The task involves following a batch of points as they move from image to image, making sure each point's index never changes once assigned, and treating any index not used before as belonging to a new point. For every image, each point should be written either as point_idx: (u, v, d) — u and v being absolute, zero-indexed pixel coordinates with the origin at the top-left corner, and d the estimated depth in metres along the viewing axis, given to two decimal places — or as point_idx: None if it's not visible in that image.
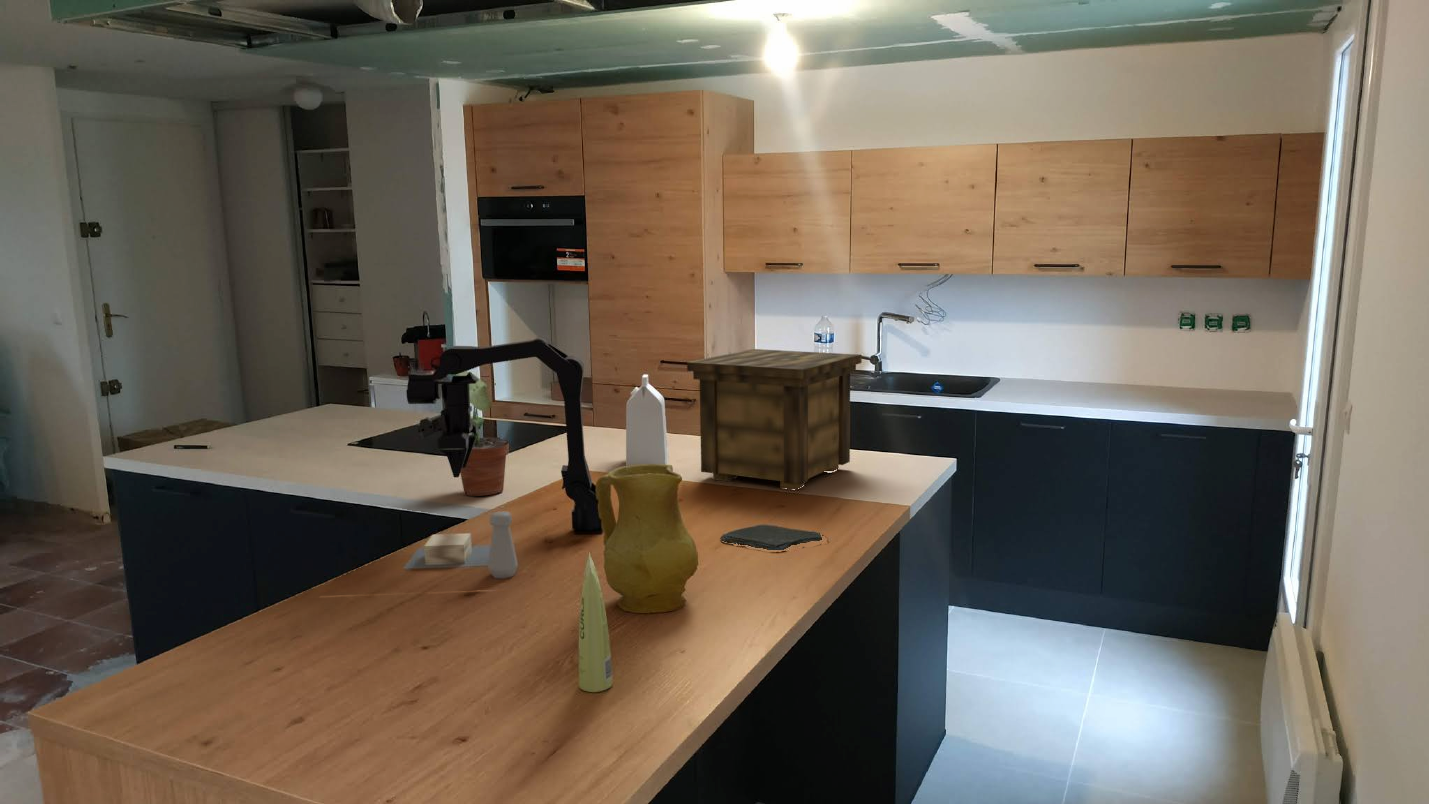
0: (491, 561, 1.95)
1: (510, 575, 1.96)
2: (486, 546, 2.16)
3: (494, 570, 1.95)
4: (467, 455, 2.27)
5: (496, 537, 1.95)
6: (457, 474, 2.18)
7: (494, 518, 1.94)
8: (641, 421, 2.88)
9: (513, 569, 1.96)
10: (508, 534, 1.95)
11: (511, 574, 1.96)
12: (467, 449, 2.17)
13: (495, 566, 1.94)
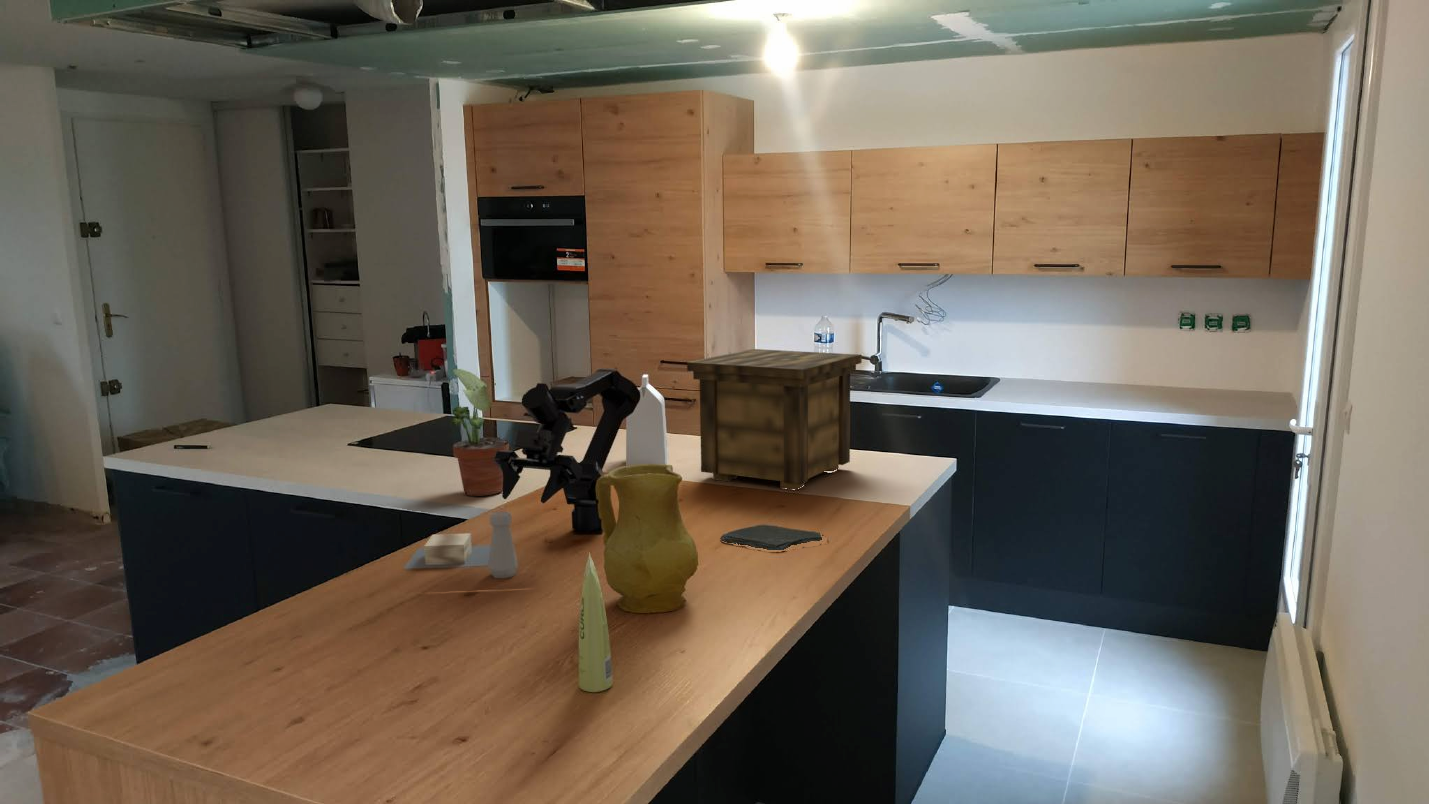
0: (491, 561, 1.95)
1: (510, 575, 1.96)
2: (486, 546, 2.16)
3: (494, 570, 1.95)
4: (511, 489, 2.07)
5: (496, 537, 1.95)
6: (545, 500, 2.01)
7: (494, 518, 1.94)
8: (641, 421, 2.88)
9: (513, 569, 1.96)
10: (508, 534, 1.95)
11: (511, 574, 1.96)
12: None
13: (495, 566, 1.94)
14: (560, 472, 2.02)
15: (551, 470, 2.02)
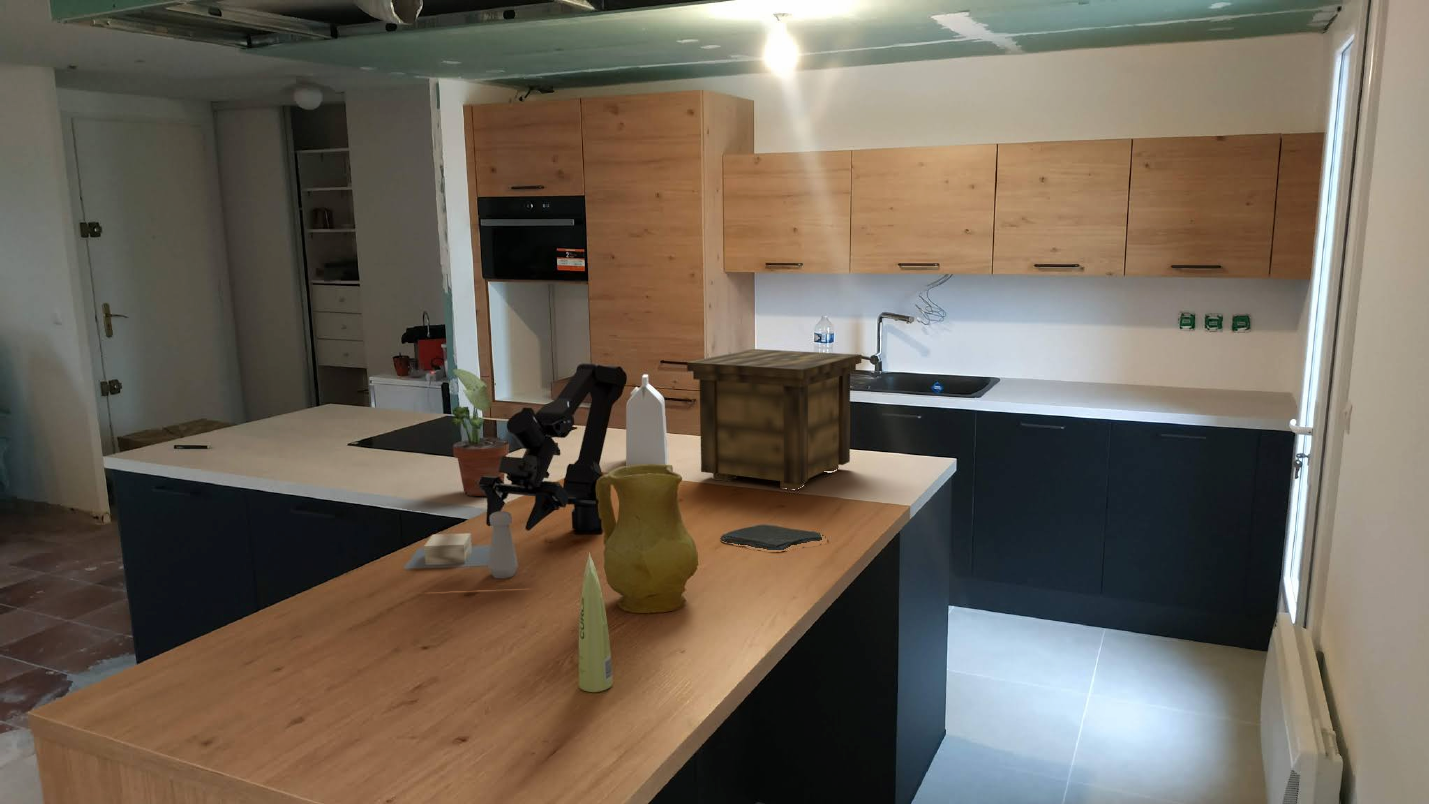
0: (491, 561, 1.95)
1: (510, 575, 1.96)
2: (486, 546, 2.16)
3: (494, 570, 1.95)
4: None
5: (496, 537, 1.95)
6: (530, 527, 1.97)
7: (494, 518, 1.94)
8: (641, 421, 2.88)
9: (513, 569, 1.96)
10: (508, 534, 1.95)
11: (511, 574, 1.96)
12: None
13: (495, 566, 1.94)
14: (545, 499, 1.98)
15: (536, 497, 1.97)
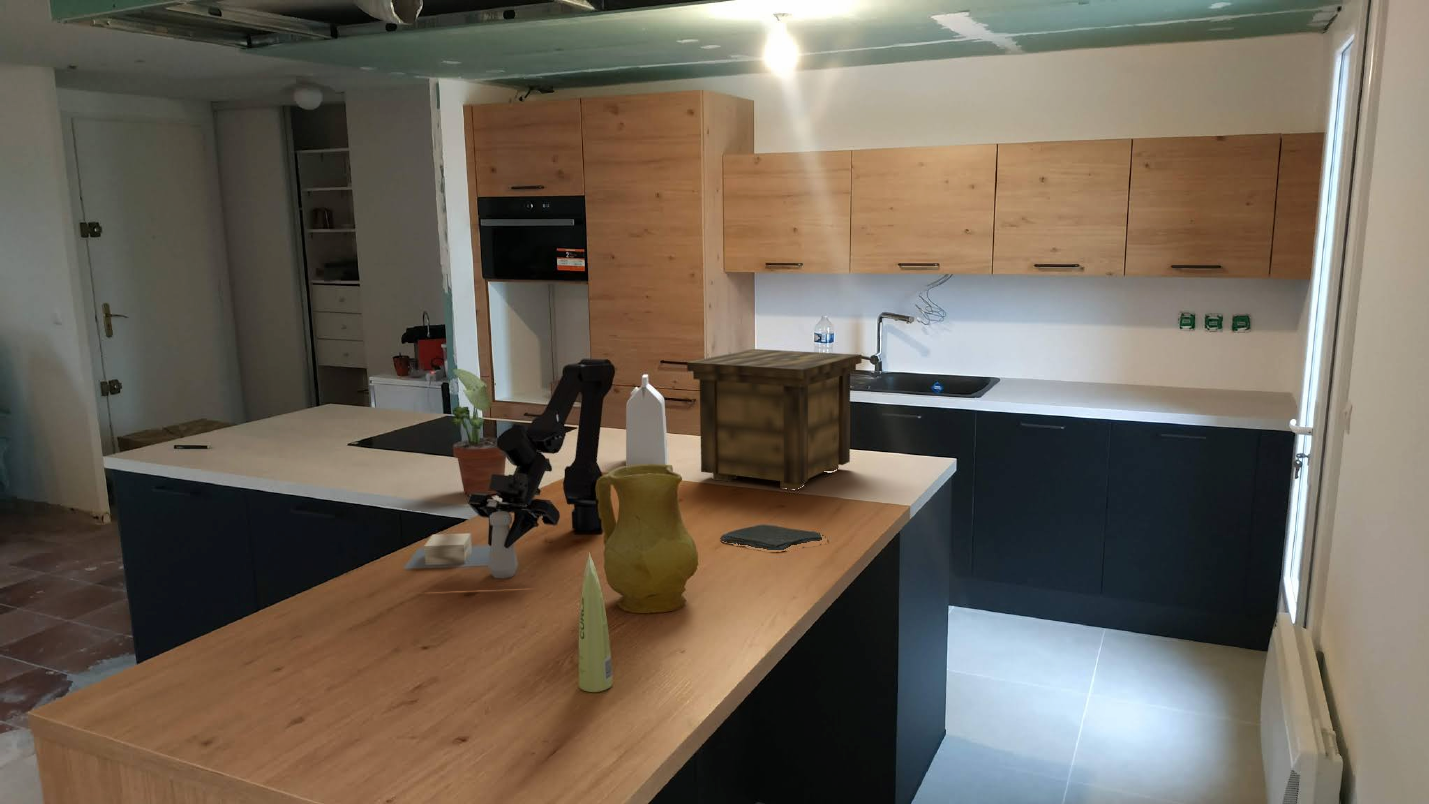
0: (491, 561, 1.95)
1: (510, 575, 1.96)
2: (486, 546, 2.16)
3: (494, 570, 1.95)
4: None
5: (496, 537, 1.95)
6: (509, 545, 1.95)
7: (494, 518, 1.94)
8: (641, 421, 2.88)
9: (513, 569, 1.96)
10: None
11: (511, 574, 1.96)
12: None
13: (495, 566, 1.94)
14: (524, 516, 1.96)
15: (515, 514, 1.96)
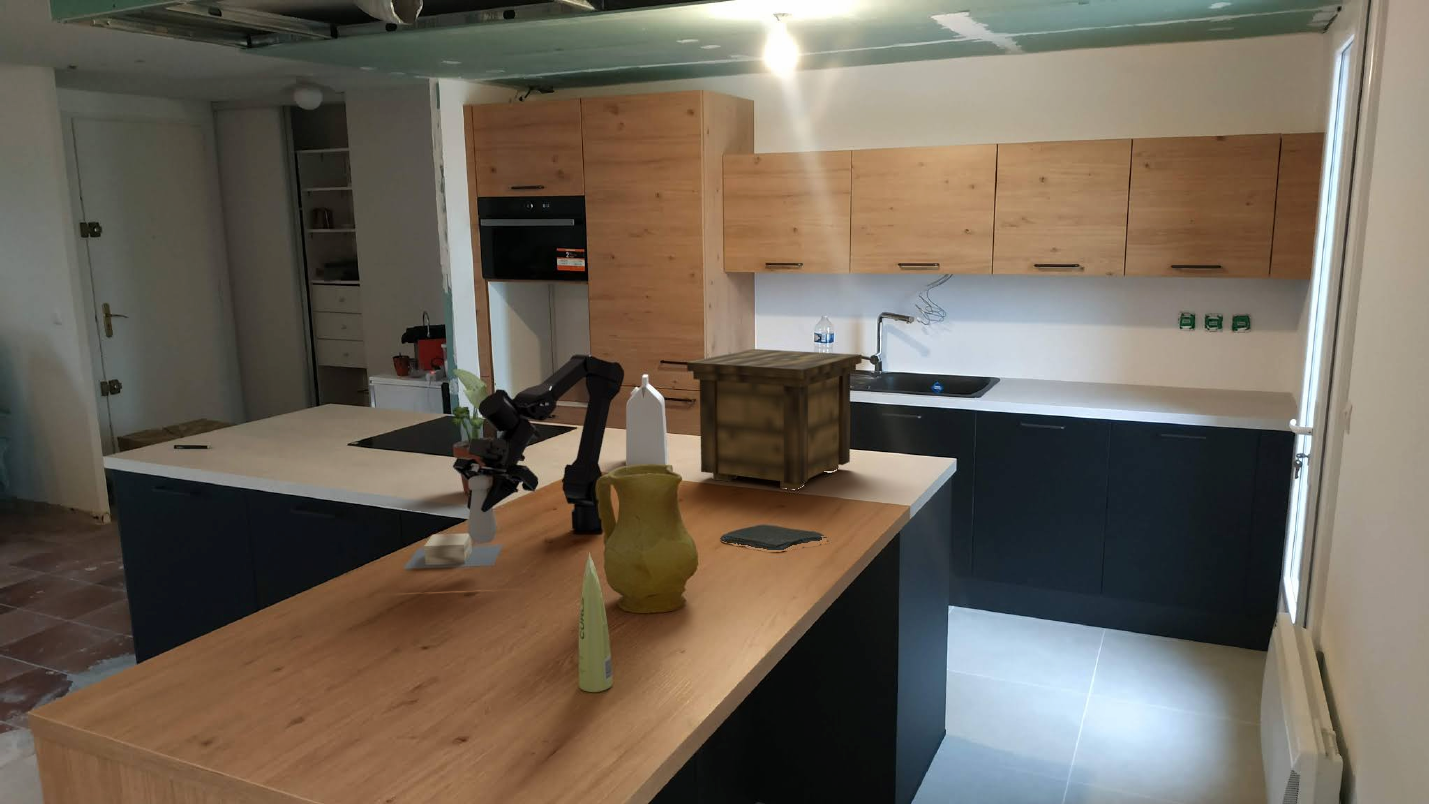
0: (469, 525, 1.96)
1: (488, 539, 1.97)
2: (486, 546, 2.16)
3: (471, 534, 1.96)
4: None
5: (474, 501, 1.96)
6: (486, 509, 1.96)
7: (472, 482, 1.95)
8: (641, 421, 2.88)
9: (491, 533, 1.97)
10: None
11: (489, 538, 1.97)
12: None
13: (473, 529, 1.96)
14: (502, 481, 1.96)
15: (493, 478, 1.96)
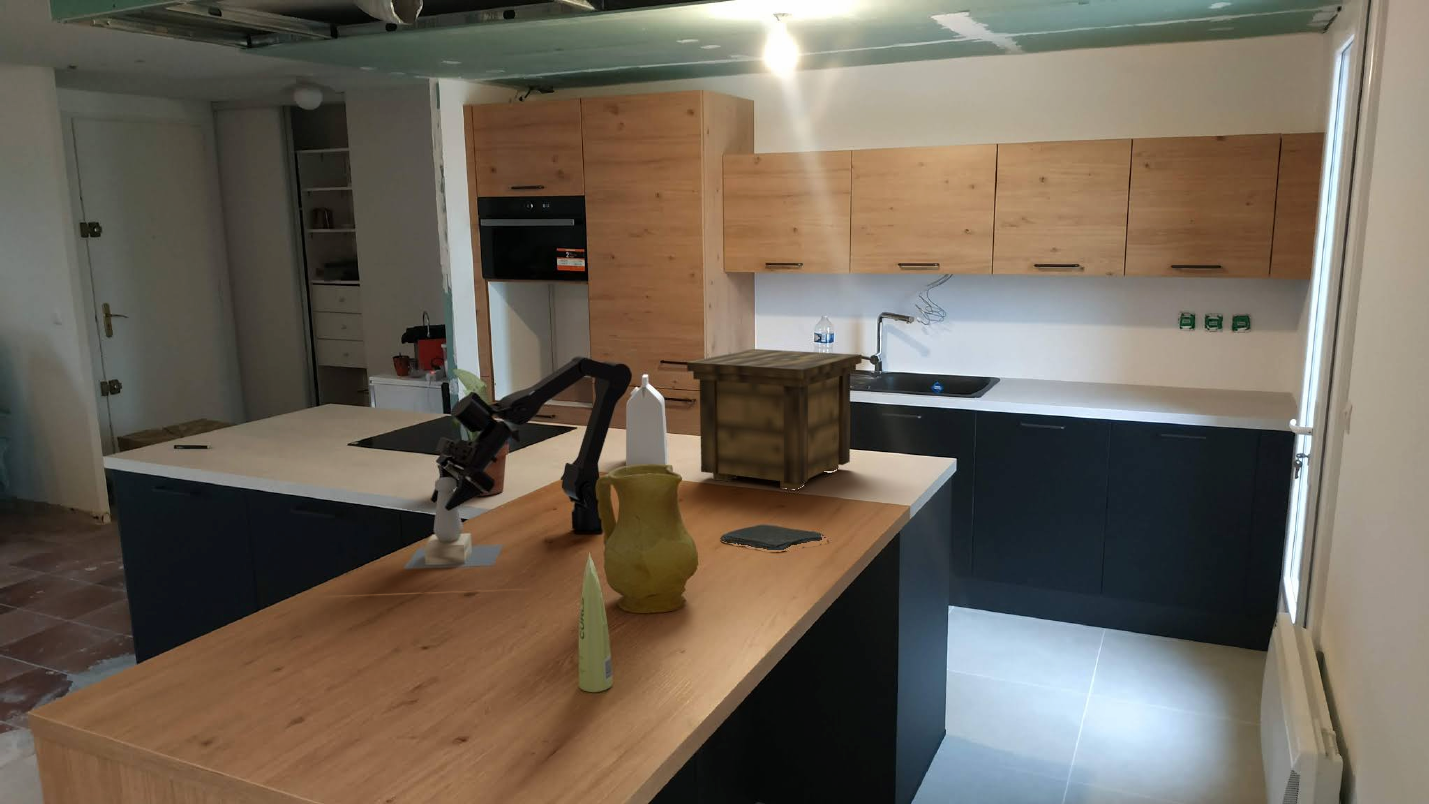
0: (434, 523, 2.06)
1: (449, 539, 2.06)
2: (486, 546, 2.16)
3: (435, 532, 2.06)
4: None
5: (438, 501, 2.06)
6: (450, 508, 2.03)
7: (436, 483, 2.05)
8: (641, 421, 2.88)
9: (451, 533, 2.05)
10: None
11: (450, 538, 2.06)
12: None
13: (435, 528, 2.06)
14: (466, 482, 2.02)
15: (458, 479, 2.03)
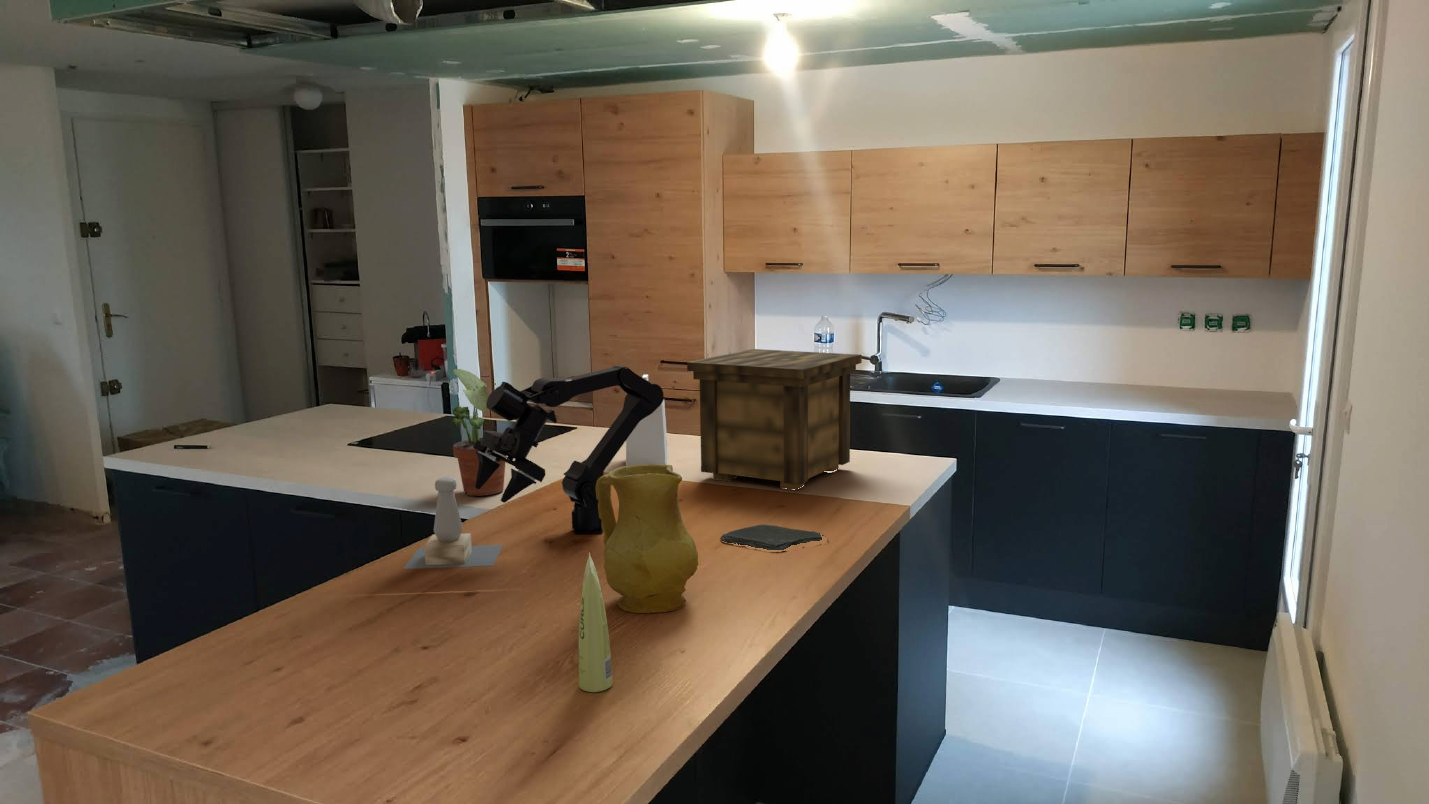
0: (434, 523, 2.06)
1: (449, 539, 2.06)
2: (486, 546, 2.16)
3: (435, 532, 2.06)
4: (486, 478, 2.17)
5: (438, 501, 2.06)
6: (506, 500, 2.10)
7: (436, 483, 2.05)
8: (641, 421, 2.88)
9: (451, 534, 2.05)
10: (449, 500, 2.05)
11: (450, 538, 2.06)
12: None
13: (435, 528, 2.06)
14: (520, 475, 2.09)
15: (512, 473, 2.09)
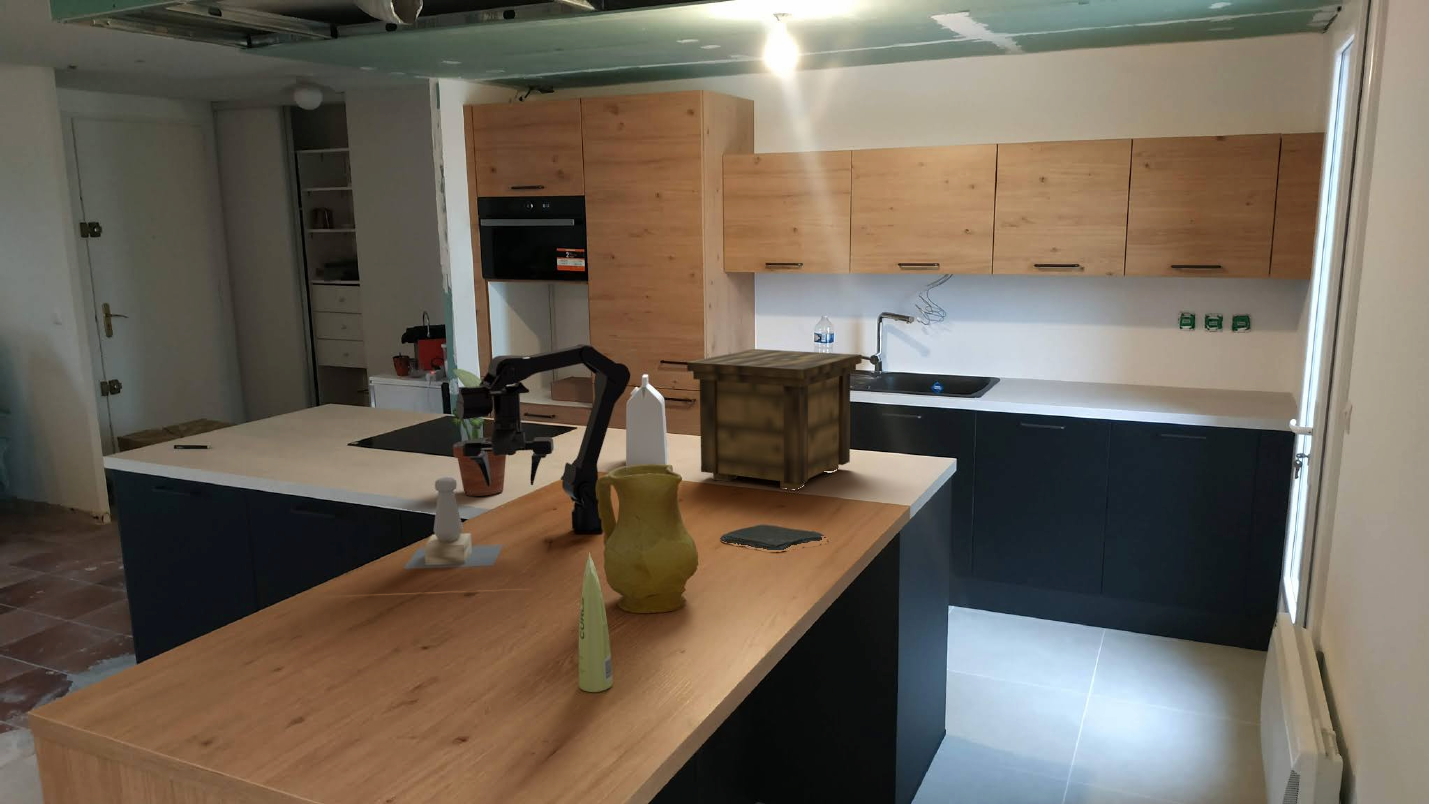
0: (434, 523, 2.06)
1: (449, 539, 2.06)
2: (486, 546, 2.16)
3: (435, 532, 2.06)
4: (489, 472, 2.17)
5: (438, 501, 2.06)
6: (533, 481, 2.18)
7: (436, 483, 2.05)
8: (641, 421, 2.88)
9: (451, 534, 2.05)
10: (449, 500, 2.05)
11: (450, 538, 2.06)
12: None
13: (435, 528, 2.06)
14: None
15: (533, 459, 2.14)
